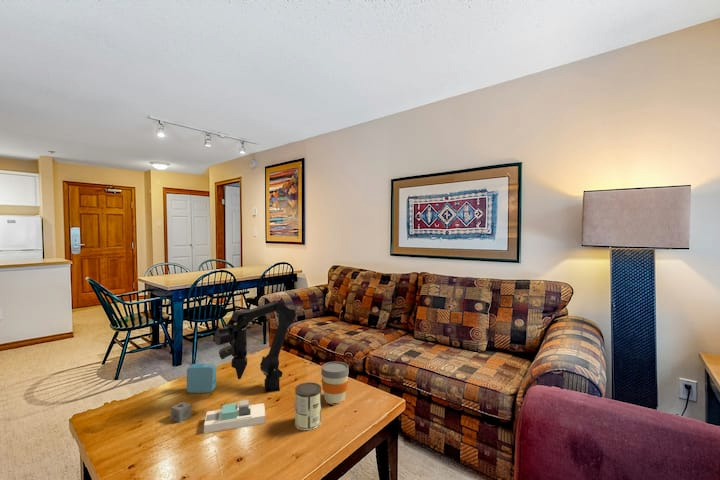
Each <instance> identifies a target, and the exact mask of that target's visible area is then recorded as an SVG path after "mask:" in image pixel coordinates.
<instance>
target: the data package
mask: <svg viewBox="0 0 720 480" xmlns="http://www.w3.org/2000/svg"><path fill="white" fill-rule="evenodd" d="M216 387H217V365H216V364H215V363H192V364H191V365H190V366H189V367H187V369H186V391H187V392H188V393H191V394H192V393H195V394H196V393H197V394H200V393H201V394H202V393H203V394H205V393H208V394H209V393H212V392H213V390H215V388H216Z"/></svg>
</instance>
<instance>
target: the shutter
mask: <svg viewBox="0 0 720 480" xmlns="http://www.w3.org/2000/svg"><path fill="white" fill-rule="evenodd" d="M237 407H238V402H234V403H232V402H231V403H226V404H222V408H221V409H222V420H227V419H233V418H237Z"/></svg>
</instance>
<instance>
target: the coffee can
mask: <svg viewBox="0 0 720 480" xmlns="http://www.w3.org/2000/svg"><path fill="white" fill-rule="evenodd" d="M294 392H295V393H294V394H295V397H294V399H295V401H294V402H295V403H294V405H295V408H294V410H295V411H294V412H295V413H294V419H295V420H294V426H295V427H296V428H297V430H299V431H300V430H301V431H305V430H308V431H313V430H315V428H316V429H318V428H319V427H320V426H321V424H322V407H321V406H322V385H321V384H319V383H316V382H303V383H300V384H298V385H297V386H296V387H295V389H294ZM319 425H320V426H319ZM318 426H319V427H318ZM312 429H313V430H312Z"/></svg>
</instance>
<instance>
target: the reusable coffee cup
mask: <svg viewBox="0 0 720 480" xmlns="http://www.w3.org/2000/svg"><path fill="white" fill-rule="evenodd" d="M349 372H350V371H349V365H348V364H347V363H346V362H343V361H342V362H341V361H328V362H326V363H324V364H322V366H321V388H322V390H323V393H324V394H323V396H324V401H325V400H326V401H327V402H329V403H339V402H341V401H343V400H344V401H345V400H346V399H345V398H346V391H347V390H348V386H349V385H348V383H349V378H348V377H349ZM326 401H325V402H326ZM327 402H326V403H327Z"/></svg>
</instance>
